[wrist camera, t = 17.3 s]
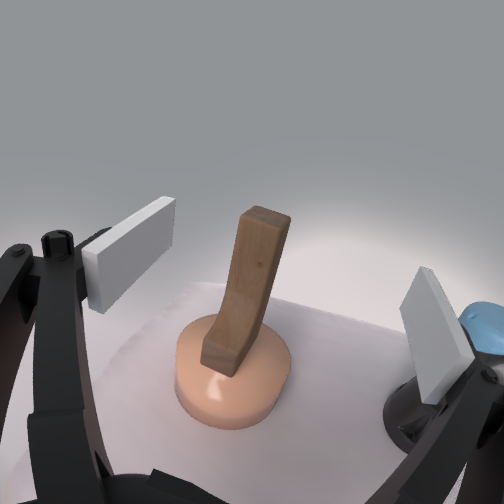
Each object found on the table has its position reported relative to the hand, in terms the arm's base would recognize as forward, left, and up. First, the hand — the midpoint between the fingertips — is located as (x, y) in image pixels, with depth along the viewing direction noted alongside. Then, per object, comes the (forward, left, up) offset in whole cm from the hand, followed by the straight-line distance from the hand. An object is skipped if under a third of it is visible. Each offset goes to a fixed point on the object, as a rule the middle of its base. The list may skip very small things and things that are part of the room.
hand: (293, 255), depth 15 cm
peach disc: (+3, -14, -30) cm, 34 cm away
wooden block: (+3, -14, -23) cm, 27 cm away
